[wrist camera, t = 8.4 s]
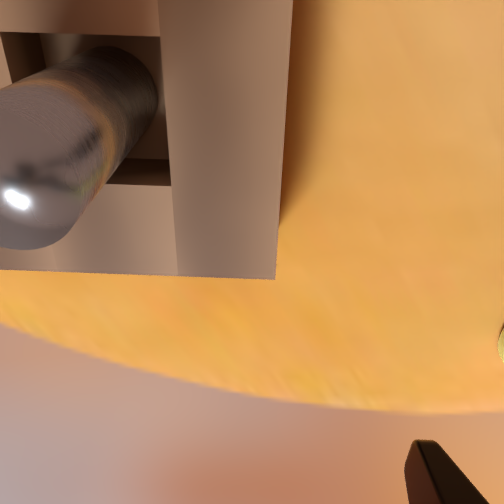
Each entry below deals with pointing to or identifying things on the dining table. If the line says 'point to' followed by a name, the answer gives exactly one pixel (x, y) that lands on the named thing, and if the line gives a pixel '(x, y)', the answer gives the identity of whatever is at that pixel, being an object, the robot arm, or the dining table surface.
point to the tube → (501, 345)
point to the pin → (67, 140)
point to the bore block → (173, 134)
